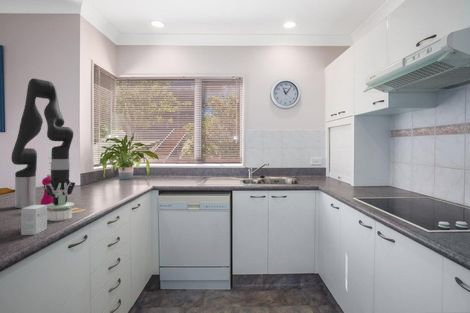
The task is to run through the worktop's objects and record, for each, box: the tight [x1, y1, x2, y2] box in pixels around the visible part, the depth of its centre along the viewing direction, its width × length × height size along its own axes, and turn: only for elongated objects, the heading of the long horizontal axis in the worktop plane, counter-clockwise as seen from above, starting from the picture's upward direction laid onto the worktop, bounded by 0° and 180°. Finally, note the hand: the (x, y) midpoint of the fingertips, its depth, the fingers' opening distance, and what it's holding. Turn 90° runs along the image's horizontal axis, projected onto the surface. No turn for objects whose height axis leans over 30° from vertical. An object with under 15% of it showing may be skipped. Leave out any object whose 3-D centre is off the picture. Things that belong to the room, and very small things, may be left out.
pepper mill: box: [40, 173, 53, 210], centre depth 147 cm, size 7×7×20 cm
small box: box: [20, 204, 48, 236], centre depth 113 cm, size 8×6×10 cm
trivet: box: [71, 206, 87, 214], centre depth 146 cm, size 12×12×1 cm
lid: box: [47, 193, 75, 209], centre depth 131 cm, size 12×12×5 cm
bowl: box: [47, 207, 73, 222], centre depth 131 cm, size 10×10×5 cm
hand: (60, 204), depth 131 cm, fingers closed on lid, 3 cm apart
